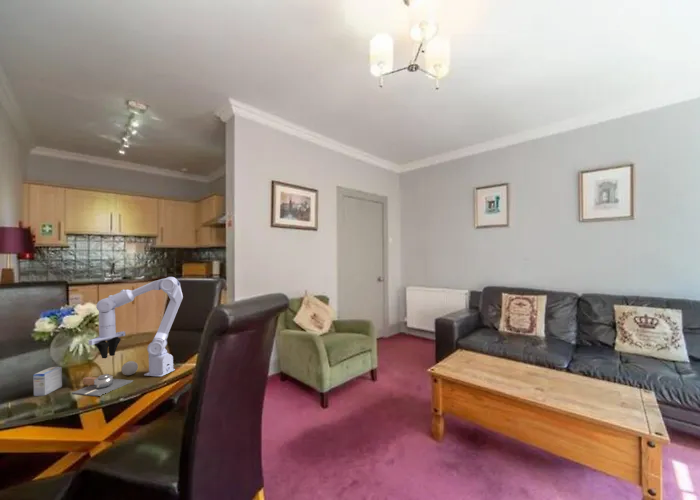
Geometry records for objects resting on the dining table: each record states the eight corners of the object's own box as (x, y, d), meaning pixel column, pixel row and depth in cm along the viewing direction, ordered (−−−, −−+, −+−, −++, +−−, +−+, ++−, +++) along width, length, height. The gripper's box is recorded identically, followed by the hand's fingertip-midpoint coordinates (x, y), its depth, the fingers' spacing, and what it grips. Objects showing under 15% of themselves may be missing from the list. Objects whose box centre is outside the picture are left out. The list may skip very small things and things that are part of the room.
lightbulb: (120, 376, 143) (124, 378, 136) (116, 363, 143) (121, 365, 136) (135, 370, 148) (140, 372, 140) (132, 358, 148) (137, 359, 140)
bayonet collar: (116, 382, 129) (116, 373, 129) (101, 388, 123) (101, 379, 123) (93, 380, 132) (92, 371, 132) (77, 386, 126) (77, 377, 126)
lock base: (133, 381, 132) (133, 380, 132) (99, 396, 118) (99, 395, 118) (107, 379, 135) (107, 378, 135) (72, 393, 122) (72, 392, 122)
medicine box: (51, 387, 129) (50, 367, 129) (62, 386, 129) (61, 366, 129) (33, 396, 121) (32, 374, 121) (45, 395, 121) (44, 373, 121)
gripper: (116, 321, 142) (117, 351, 142) (82, 329, 128) (83, 362, 128) (128, 321, 140) (129, 351, 140) (95, 329, 126) (96, 363, 126)
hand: (108, 356), depth 134 cm, fingers open, 3 cm apart
